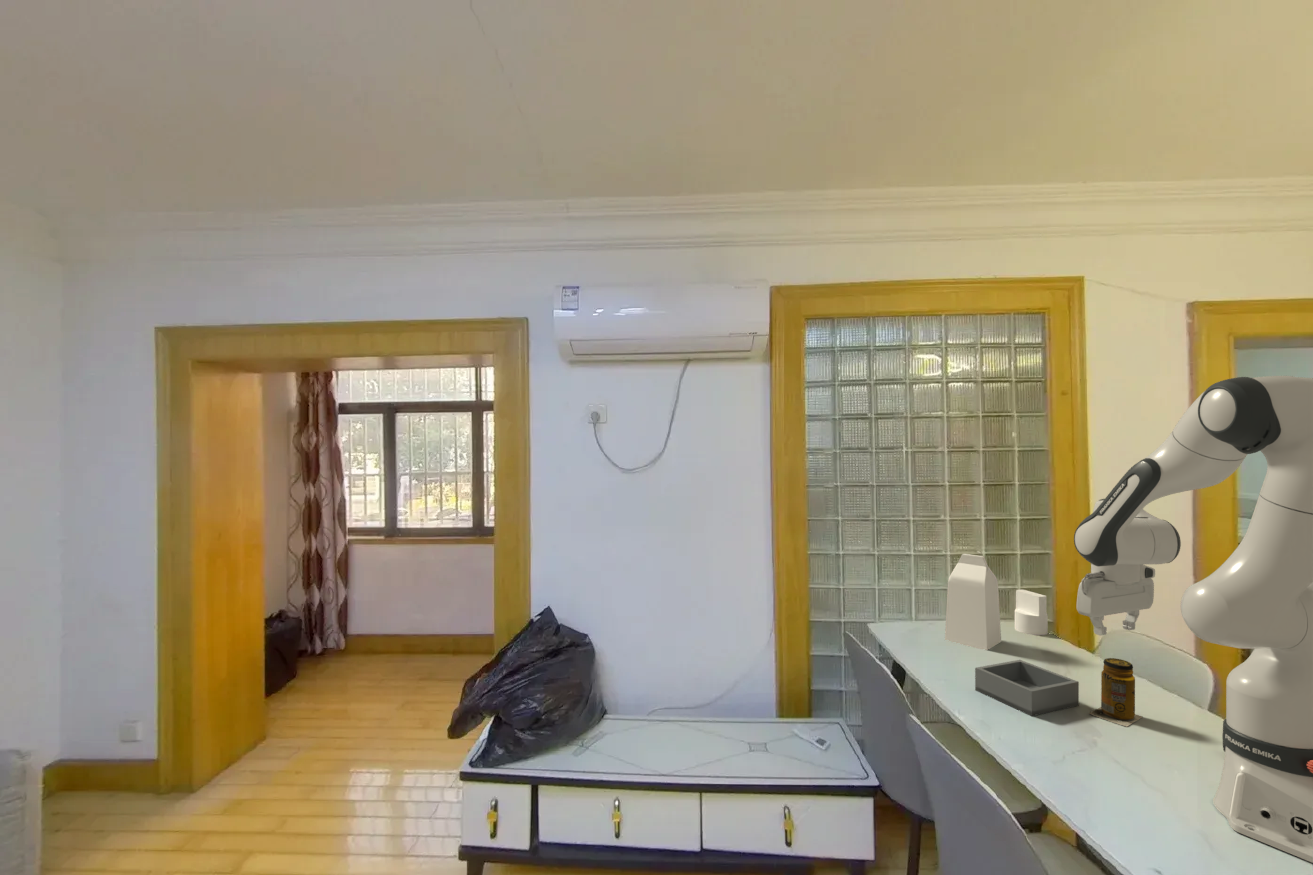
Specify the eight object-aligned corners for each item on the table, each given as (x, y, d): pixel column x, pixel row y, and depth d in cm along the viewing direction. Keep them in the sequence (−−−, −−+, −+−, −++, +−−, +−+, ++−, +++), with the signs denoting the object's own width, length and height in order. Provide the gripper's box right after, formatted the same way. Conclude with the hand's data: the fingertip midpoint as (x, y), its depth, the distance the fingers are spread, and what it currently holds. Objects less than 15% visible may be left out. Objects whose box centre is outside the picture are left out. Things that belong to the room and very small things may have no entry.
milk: (944, 640, 188) (944, 555, 188) (960, 632, 196) (960, 550, 196) (986, 650, 179) (986, 560, 179) (1001, 641, 187) (1001, 555, 187)
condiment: (1142, 717, 137) (1142, 663, 137) (1127, 727, 132) (1127, 671, 132) (1104, 705, 143) (1104, 653, 143) (1088, 714, 138) (1088, 661, 138)
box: (1078, 705, 143) (1078, 681, 143) (1031, 716, 137) (1031, 691, 137) (1019, 681, 157) (1019, 659, 157) (975, 690, 151) (975, 667, 151)
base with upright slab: (1008, 627, 200) (1007, 590, 200) (1029, 625, 203) (1029, 588, 203) (1032, 636, 192) (1032, 597, 191) (1054, 633, 194) (1054, 595, 194)
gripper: (1097, 577, 131) (1097, 642, 131) (1160, 569, 138) (1159, 630, 138) (1068, 570, 137) (1068, 633, 137) (1130, 563, 144) (1129, 622, 144)
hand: (1114, 631), depth 138 cm, fingers open, 8 cm apart
